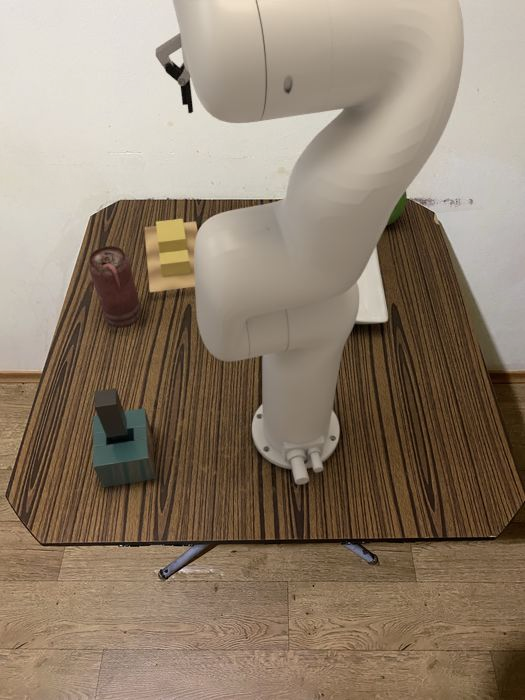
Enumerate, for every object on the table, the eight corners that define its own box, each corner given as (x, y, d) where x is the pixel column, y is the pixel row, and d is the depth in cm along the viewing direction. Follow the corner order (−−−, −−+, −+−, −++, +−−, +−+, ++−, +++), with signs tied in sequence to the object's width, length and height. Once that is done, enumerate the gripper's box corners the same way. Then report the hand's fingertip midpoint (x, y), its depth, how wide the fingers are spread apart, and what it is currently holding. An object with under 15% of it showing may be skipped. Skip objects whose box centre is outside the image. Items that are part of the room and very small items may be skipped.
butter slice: (190, 273, 102) (189, 260, 100) (162, 277, 102) (160, 264, 100) (189, 262, 104) (187, 249, 102) (161, 265, 104) (159, 253, 101)
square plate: (386, 336, 95) (390, 320, 92) (220, 334, 95) (219, 318, 92) (370, 231, 112) (373, 214, 109) (229, 229, 112) (229, 213, 109)
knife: (138, 464, 80) (116, 403, 69) (119, 467, 80) (94, 407, 68) (137, 449, 82) (116, 387, 70) (118, 452, 81) (94, 391, 70)
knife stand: (155, 479, 79) (148, 457, 74) (103, 487, 78) (92, 466, 73) (151, 431, 84) (144, 408, 79) (102, 438, 83) (93, 415, 78)
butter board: (207, 290, 102) (207, 284, 101) (150, 298, 101) (149, 292, 99) (196, 227, 113) (195, 221, 112) (145, 233, 112) (144, 227, 111)
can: (119, 340, 95) (100, 277, 84) (100, 318, 98) (79, 255, 87) (150, 322, 97) (135, 259, 86) (130, 301, 100) (114, 238, 89)
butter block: (187, 251, 106) (185, 238, 104) (160, 254, 106) (157, 242, 103) (184, 231, 110) (182, 218, 108) (158, 234, 109) (155, 221, 107)
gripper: (144, -14, 68) (164, 123, 81) (289, -22, 69) (285, 115, 82) (144, -35, 73) (163, 98, 86) (279, -42, 74) (278, 90, 87)
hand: (223, 106), depth 84 cm, fingers open, 9 cm apart
